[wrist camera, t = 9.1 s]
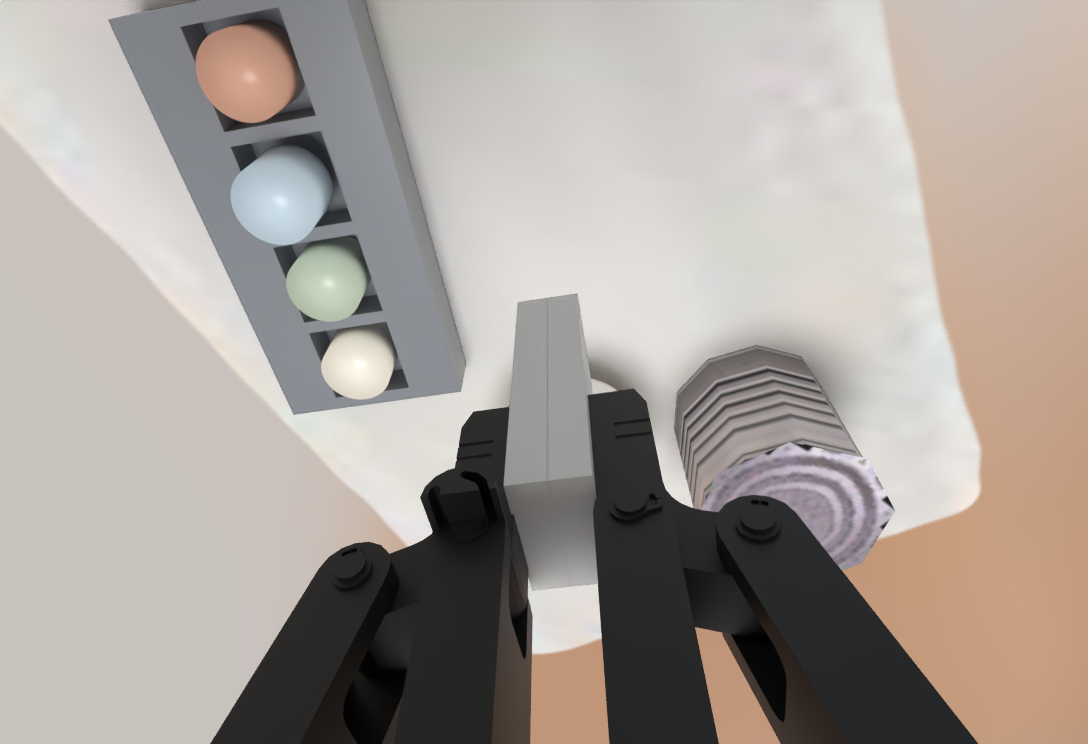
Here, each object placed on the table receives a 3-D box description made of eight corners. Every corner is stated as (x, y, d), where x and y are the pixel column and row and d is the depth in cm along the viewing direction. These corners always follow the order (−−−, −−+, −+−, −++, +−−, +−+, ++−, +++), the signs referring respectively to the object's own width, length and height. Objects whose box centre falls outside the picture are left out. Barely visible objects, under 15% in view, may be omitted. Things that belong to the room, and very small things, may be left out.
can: (718, 486, 56) (755, 609, 46) (641, 398, 51) (664, 515, 41) (849, 418, 52) (921, 537, 42) (779, 315, 47) (842, 422, 37)
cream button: (326, 320, 46) (311, 348, 43) (389, 311, 45) (378, 338, 42) (347, 374, 48) (334, 403, 45) (407, 365, 48) (398, 394, 45)
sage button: (293, 238, 43) (274, 261, 40) (360, 227, 42) (346, 250, 39) (317, 300, 45) (301, 326, 42) (382, 290, 45) (370, 316, 42)
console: (142, 11, 37) (107, 19, 34) (355, -32, 36) (338, -28, 33) (308, 385, 50) (293, 414, 47) (466, 363, 49) (460, 391, 46)
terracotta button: (209, 28, 36) (179, 37, 33) (288, 12, 36) (265, 20, 33) (243, 113, 38) (218, 129, 35) (317, 99, 38) (298, 114, 35)
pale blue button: (241, 152, 38) (216, 171, 35) (317, 138, 37) (297, 157, 34) (272, 226, 40) (250, 250, 37) (344, 214, 40) (327, 238, 37)
